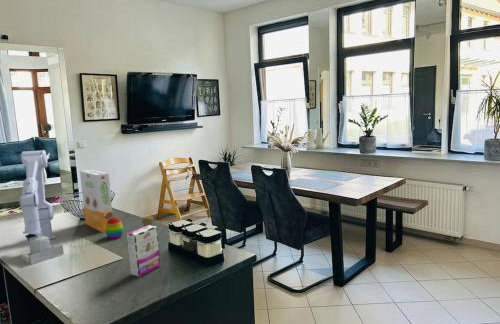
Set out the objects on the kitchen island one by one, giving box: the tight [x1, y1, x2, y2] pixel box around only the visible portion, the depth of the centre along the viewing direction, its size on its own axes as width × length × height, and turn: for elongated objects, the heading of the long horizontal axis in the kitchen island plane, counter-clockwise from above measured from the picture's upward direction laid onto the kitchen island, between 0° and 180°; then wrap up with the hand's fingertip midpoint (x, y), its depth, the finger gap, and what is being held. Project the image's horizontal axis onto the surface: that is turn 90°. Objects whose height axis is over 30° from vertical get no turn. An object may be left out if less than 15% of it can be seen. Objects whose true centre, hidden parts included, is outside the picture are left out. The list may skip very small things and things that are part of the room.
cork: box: [141, 215, 154, 227], centre depth 176 cm, size 6×6×11 cm
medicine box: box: [28, 236, 51, 254], centre depth 159 cm, size 8×4×9 cm, turn 62°
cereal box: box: [79, 169, 113, 233], centre depth 197 cm, size 22×6×30 cm, turn 44°
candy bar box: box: [126, 225, 161, 278], centre depth 141 cm, size 11×5×16 cm, turn 148°
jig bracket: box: [20, 244, 65, 266], centre depth 160 cm, size 12×13×4 cm
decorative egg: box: [105, 216, 124, 240], centre depth 181 cm, size 8×8×10 cm
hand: (35, 249), depth 165 cm, fingers closed
